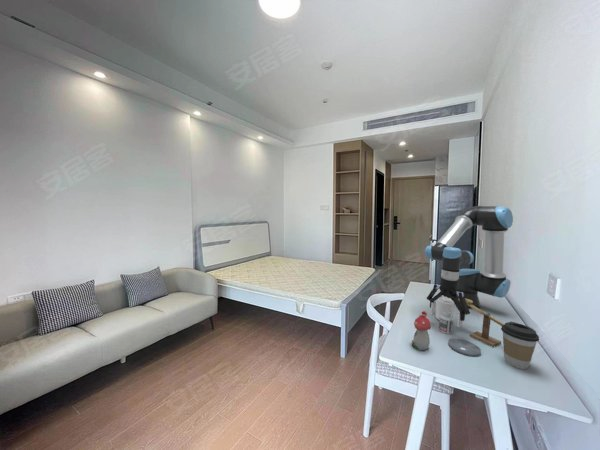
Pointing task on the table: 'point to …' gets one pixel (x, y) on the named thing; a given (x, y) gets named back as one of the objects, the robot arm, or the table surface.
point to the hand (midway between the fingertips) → (445, 320)
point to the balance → (484, 327)
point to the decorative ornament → (421, 332)
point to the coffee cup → (518, 344)
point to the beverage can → (444, 306)
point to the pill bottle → (445, 322)
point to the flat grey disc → (464, 347)
